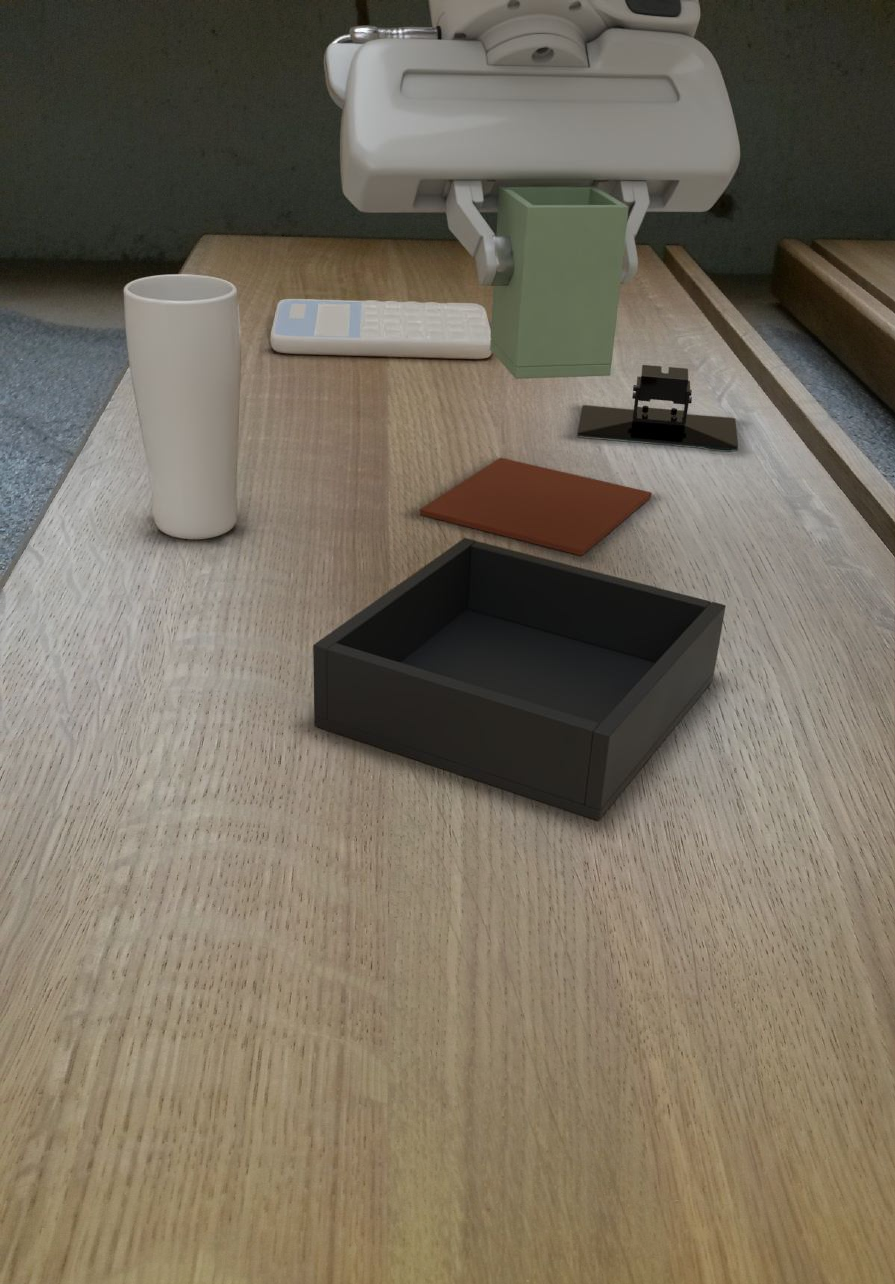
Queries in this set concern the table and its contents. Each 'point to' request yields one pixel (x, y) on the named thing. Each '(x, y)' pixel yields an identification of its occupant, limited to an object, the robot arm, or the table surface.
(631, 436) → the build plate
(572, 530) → the mat
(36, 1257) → the table surface
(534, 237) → the box
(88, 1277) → the table surface
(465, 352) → the calculator
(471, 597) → the bin
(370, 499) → the table surface
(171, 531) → the drinking glass
